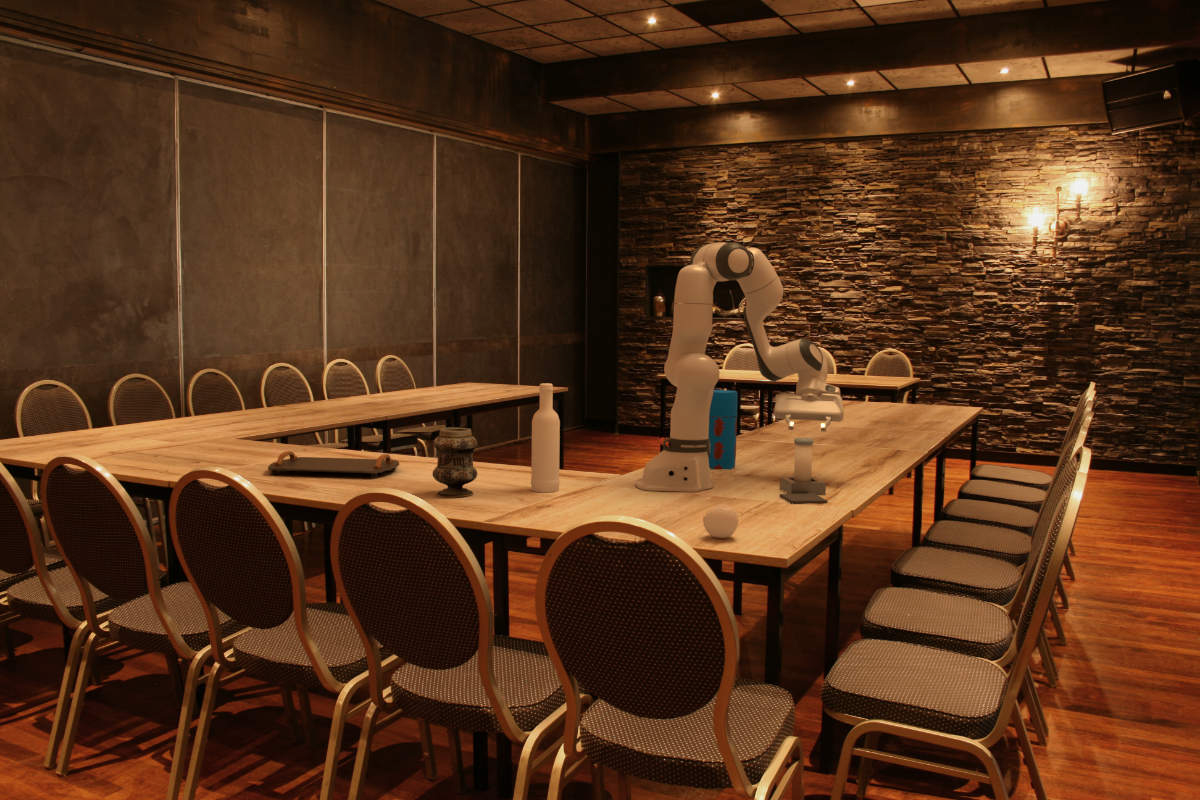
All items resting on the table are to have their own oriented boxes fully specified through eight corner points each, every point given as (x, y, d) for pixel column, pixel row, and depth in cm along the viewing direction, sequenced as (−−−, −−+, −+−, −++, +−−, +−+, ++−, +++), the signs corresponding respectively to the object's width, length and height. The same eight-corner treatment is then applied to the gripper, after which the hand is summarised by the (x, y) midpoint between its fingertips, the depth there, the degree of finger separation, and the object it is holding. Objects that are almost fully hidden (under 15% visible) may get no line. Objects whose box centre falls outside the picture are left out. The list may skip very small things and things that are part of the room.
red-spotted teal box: (734, 470, 313) (736, 393, 310) (700, 469, 315) (702, 392, 313) (736, 465, 323) (738, 390, 321) (704, 463, 325) (706, 389, 323)
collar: (791, 495, 272) (791, 482, 271) (779, 488, 282) (780, 476, 281) (825, 494, 273) (825, 482, 273) (813, 488, 283) (813, 476, 283)
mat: (791, 503, 259) (791, 500, 259) (779, 496, 269) (779, 493, 269) (827, 503, 261) (827, 500, 261) (814, 496, 271) (814, 493, 271)
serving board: (257, 477, 289) (257, 456, 289) (290, 465, 312) (289, 446, 312) (384, 481, 286) (384, 460, 285) (407, 469, 308) (407, 449, 308)
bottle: (555, 493, 269) (556, 385, 266) (527, 491, 270) (528, 384, 268) (562, 488, 277) (563, 383, 274) (535, 486, 278) (536, 382, 276)
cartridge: (796, 493, 274) (797, 440, 273) (790, 490, 280) (791, 437, 278) (814, 493, 275) (816, 440, 274) (808, 489, 280) (809, 437, 279)
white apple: (727, 533, 224) (728, 499, 223) (744, 540, 217) (746, 506, 216) (696, 535, 221) (697, 502, 220) (713, 543, 214) (714, 508, 213)
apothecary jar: (484, 491, 269) (484, 427, 268) (466, 499, 258) (466, 432, 256) (444, 489, 273) (444, 425, 271) (425, 496, 261) (424, 430, 260)
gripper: (775, 385, 295) (770, 420, 286) (844, 388, 289) (842, 424, 281) (776, 399, 299) (771, 434, 291) (844, 401, 294) (842, 437, 285)
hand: (807, 429), depth 286 cm, fingers open, 8 cm apart
